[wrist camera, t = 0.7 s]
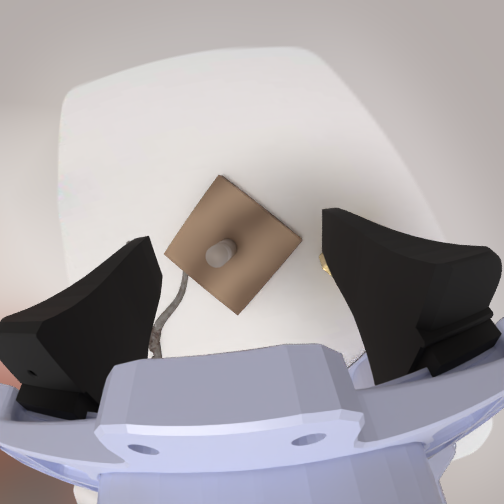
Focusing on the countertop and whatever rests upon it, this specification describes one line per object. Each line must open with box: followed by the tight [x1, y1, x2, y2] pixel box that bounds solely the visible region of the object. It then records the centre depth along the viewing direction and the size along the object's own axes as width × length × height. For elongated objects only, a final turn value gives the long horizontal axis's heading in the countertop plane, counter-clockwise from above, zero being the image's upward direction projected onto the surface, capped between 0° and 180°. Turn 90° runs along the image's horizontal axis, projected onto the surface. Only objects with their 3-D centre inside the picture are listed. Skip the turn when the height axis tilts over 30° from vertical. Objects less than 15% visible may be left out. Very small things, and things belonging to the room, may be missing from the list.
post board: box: [164, 175, 302, 315], centre depth 28 cm, size 11×11×6 cm
